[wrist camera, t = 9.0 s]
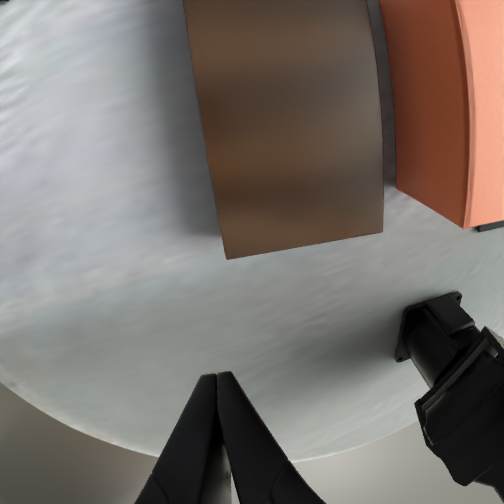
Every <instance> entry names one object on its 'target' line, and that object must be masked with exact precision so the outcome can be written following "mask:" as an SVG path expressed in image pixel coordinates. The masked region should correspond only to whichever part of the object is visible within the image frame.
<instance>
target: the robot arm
mask: <svg viewBox="0 0 504 504" xmlns="http://www.w3.org/2000/svg"><path fill="white" fill-rule="evenodd" d="M461 299H462V294H461V293H460V292H454V293H451V294H448V295H445V296H442V297H439V298H436V299H433V300H429V301H426V302H423V303H420V304H416V305H413V306H410V307H407V308H406V309H405V310H404V312H403V318H402V323H401V328H400V333H399V338H398V343H397V347H396V352H395V356H394V359H395V361H396V362H397V363H399V362H402V361H405V360H408V359H411V360H412V362H413V363H414V365H415V366H416V368H417V369H418V371H419V372H420V374H421V375H422V377H423V379H424V380H425V382H426V383H427V385H428V386H429V388H430V390H429V391H428V392H427V393H426V394H425V395H424V396H423V397H422V398H421V399H418V400H417V401H416V402H415V403H414V404H415V408H416V411H417V415H418V419H419V422H420V425H421V429H422V432H423V436H424V439H425V443H426V445H427V447H428V448H429V449H430V450H431V451H432V452H433V453H434V454H435V455H436V456H437V457H439V458H441V460H442V461H443V462H444V464H445V465H446V467H447V468H448V470H449V472H450V474H451V476H452V478H453V480H454V481H455V482H457V483H458V484H460V485H462V486H467V485H468V484H470V483H471V482H477V483H480V484H484V485H487V486H491V487H493V488H494V489H495V491H496V492H497V493H498V495H499V497H500V498H501V500H502V501H503V503H504V339H503V338H502V337H500V336H499V335H498V334H496V333H495V332H493V331H492V330H491V329H489V328H488V327H486V326H485V327H484V328H483V329H482V330H481V332H480V331H479V330H478V329H477V327H476V326H475V322H474V320H473V319H472V318H471V317H470V316H469V315H468V314H467V313H466V312H465V311H464V310H463V309H462V308H461V307H460V302H461ZM409 312H410V313H409ZM497 353H498V354H497ZM496 354H497V356H496ZM495 356H496V357H495ZM231 472H232V476H233V480H234V484H235V488H236V491H237V495H238V499H239V502H240V504H326V503H325V502H324V501H323V500H322V499H321V498H320V497H319V496H318V495H317V494H316V493H315V492H314V491H313V490H312V489H311V488H310V487H309V485H308V484H307V483H306V482H305V480H304V479H303V478H302V477H301V475H300V474H299V473H298V472H297V470H296V469H295V467H294V466H293V465H292V463H291V462H290V461H289V460H288V458H287V456H286V455H285V453H284V452H283V450H282V449H281V448H280V446H279V445H278V443H277V442H276V440H275V439H274V437H273V436H272V434H271V433H270V431H269V430H268V428H267V427H266V425H265V424H264V422H263V421H262V419H261V418H260V416H259V414H258V413H257V411H256V410H255V408H254V407H253V405H252V404H251V402H250V400H249V399H248V397H247V396H246V394H245V392H244V391H243V389H242V388H241V386H240V384H239V383H238V381H237V379H236V378H235V376H234V375H233V373H232V372H231V371H225V372H219V373H217V375H216V374H215V373H212V374H205V375H202V376H201V377H200V379H199V381H198V383H197V385H196V387H195V388H194V390H193V392H192V394H191V396H190V398H189V400H188V402H187V404H186V406H185V408H184V410H183V412H182V414H181V416H180V418H179V420H178V422H177V424H176V426H175V428H174V430H173V432H172V434H171V436H170V438H169V439H168V441H167V443H166V445H165V447H164V449H163V451H162V453H161V455H160V457H159V459H158V461H157V463H156V465H155V467H154V469H153V471H152V474H151V475H150V476H149V478H148V480H147V482H146V484H145V486H144V488H143V489H142V491H141V493H140V495H139V496H138V498H137V500H136V502H135V503H134V504H231Z"/></svg>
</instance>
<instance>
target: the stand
mask: <svg viewBox="0 0 504 504" xmlns="http://www.w3.org/2000/svg"><path fill="white" fill-rule="evenodd" d="M183 7H184V14H185V21H186V28H187V35H188V42H189V49H190V55H191V62H192V68H193V75H194V81H195V87H196V94H197V100H198V106H199V112H200V118H201V124H202V130H203V136H204V142H205V147H206V153H207V159H208V165H209V170H210V176H211V181H212V187H213V192H214V198H215V203H216V209H217V214H218V219H219V225H220V230H221V235H222V240H223V245H224V251H225V256H226V259H227V260H229V259H235V258H240V257H246V256H252V255H257V254H263V253H269V252H274V251H280V250H286V249H291V248H297V247H302V246H308V245H314V244H319V243H325V242H330V241H336V240H342V239H347V238H353V237H358V236H364V235H369V234H375V233H381V232H383V213H384V157H383V131H382V114H381V101H380V90H379V80H378V71H377V63H376V55H375V48H374V41H373V34H372V28H371V22H370V17H369V11H368V6H367V1H366V0H183Z"/></svg>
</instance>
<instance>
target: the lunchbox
mask: <svg viewBox="0 0 504 504" xmlns="http://www.w3.org/2000/svg"><path fill="white" fill-rule="evenodd" d="M379 4H380V8H381V13H382V19H383V24H384V30H385V36H386V42H387V49H388V56H389V64H390V72H391V81H392V91H393V103H394V116H395V135H396V188H397V189H398V190H400V191H402V192H404V193H405V194H407V195H409V196H411V197H412V198H414V199H416V200H417V201H419V202H421V203H423V204H424V205H426V206H428V207H429V208H431V209H432V210H434V211H436V212H437V213H439V214H441V215H442V216H444V217H445V218H447V219H449V220H450V221H452V222H453V223H455V224H456V225H458V226H459V227H461V228H462V229H466V228H470V227H475V226H479V225H484V224H488V223H493V222H497V221H502V220H504V0H379Z"/></svg>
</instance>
